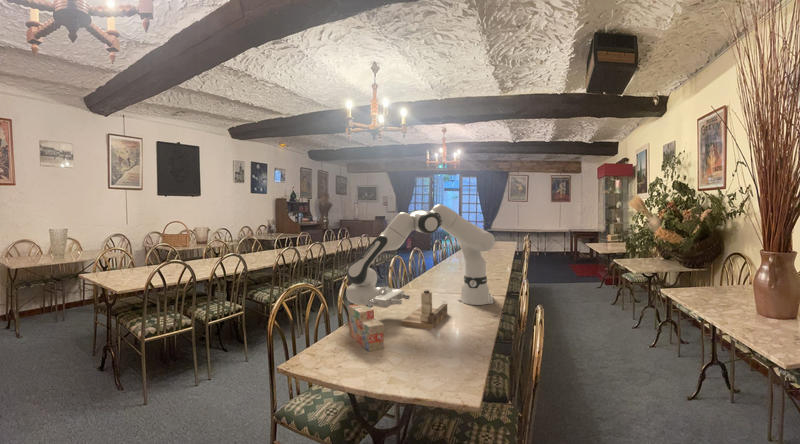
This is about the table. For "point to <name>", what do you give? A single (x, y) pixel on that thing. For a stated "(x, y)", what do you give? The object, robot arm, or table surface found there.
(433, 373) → the table surface
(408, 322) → the fenced board
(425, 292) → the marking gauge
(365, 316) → the stack of blocks
